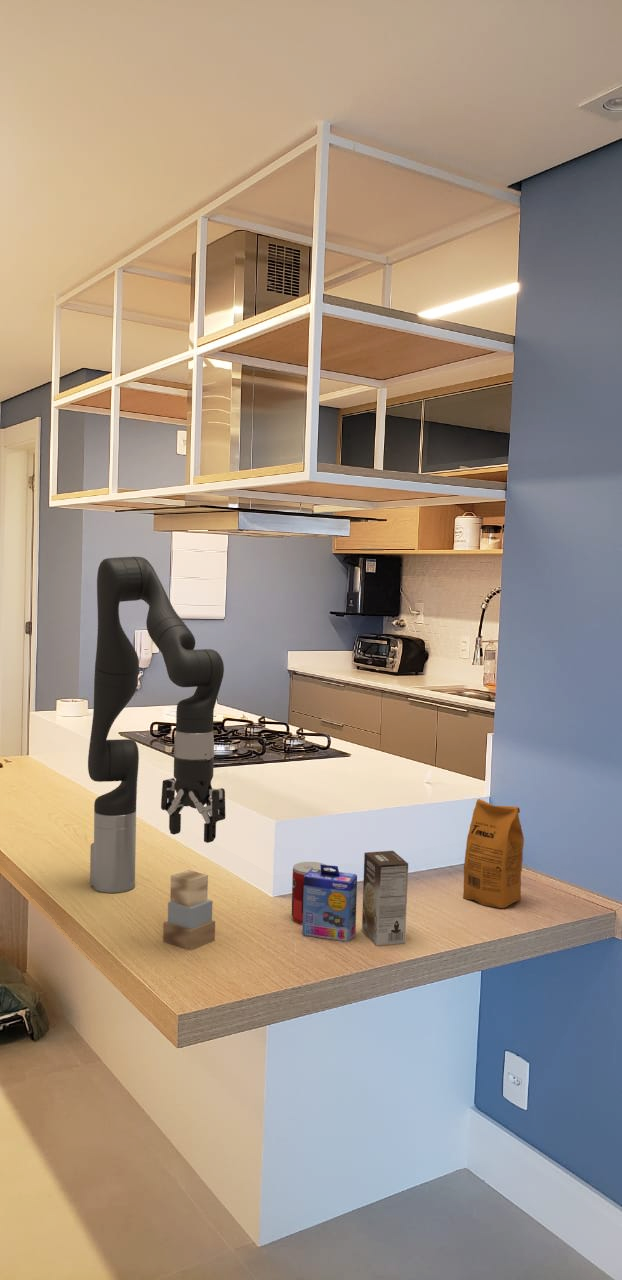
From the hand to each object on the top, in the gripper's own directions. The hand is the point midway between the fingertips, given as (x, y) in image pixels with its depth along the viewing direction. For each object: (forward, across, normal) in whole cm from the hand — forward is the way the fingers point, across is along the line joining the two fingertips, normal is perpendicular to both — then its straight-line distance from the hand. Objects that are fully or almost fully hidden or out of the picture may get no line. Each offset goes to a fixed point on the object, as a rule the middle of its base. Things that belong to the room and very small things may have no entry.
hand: (192, 837), depth 191 cm
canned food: (+20, +11, +25) cm, 34 cm away
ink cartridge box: (+20, +19, +20) cm, 34 cm away
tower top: (+16, 0, 0) cm, 17 cm away
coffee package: (+21, +35, +60) cm, 73 cm away
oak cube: (+12, 0, 0) cm, 13 cm away
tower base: (+20, 0, 0) cm, 21 cm away
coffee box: (+20, +28, +26) cm, 43 cm away
